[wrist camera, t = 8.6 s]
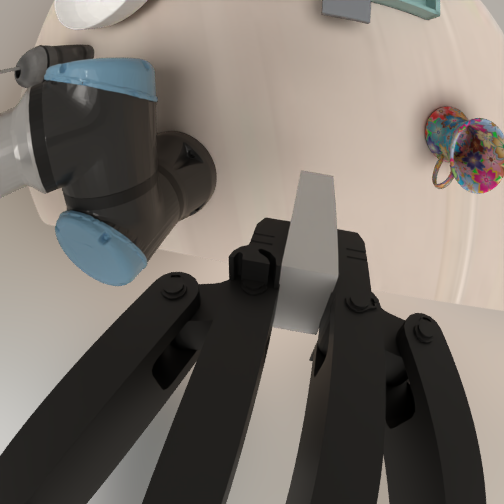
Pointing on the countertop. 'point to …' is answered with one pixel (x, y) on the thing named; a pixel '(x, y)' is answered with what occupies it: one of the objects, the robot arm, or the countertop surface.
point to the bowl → (94, 12)
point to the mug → (466, 149)
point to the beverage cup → (46, 61)
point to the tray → (415, 7)
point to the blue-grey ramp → (348, 9)
